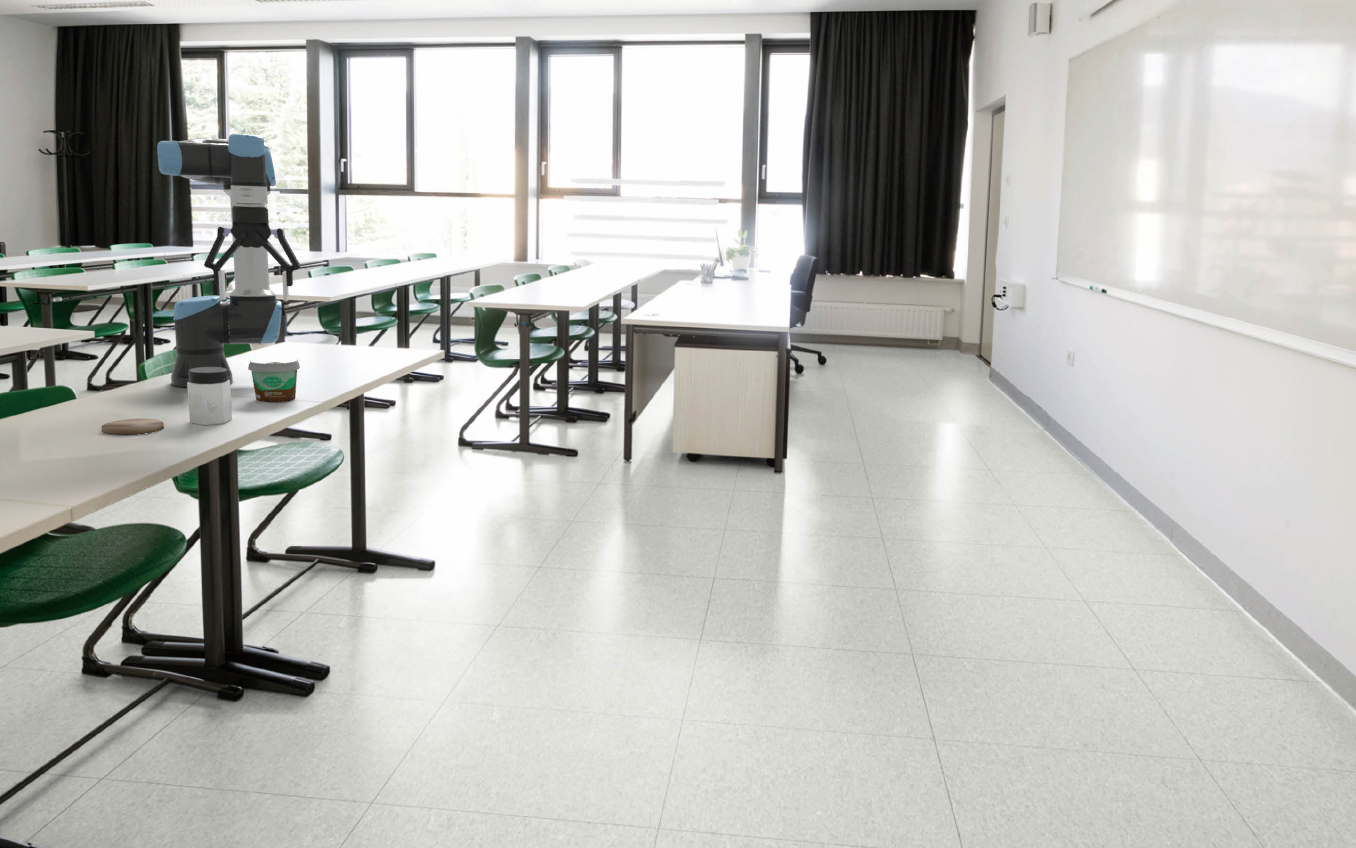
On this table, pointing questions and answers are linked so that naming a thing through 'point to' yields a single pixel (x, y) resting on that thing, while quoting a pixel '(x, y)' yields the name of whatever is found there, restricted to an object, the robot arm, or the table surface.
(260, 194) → the robot arm
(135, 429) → the candle base
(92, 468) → the table surface
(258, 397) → the food container
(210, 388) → the jar
